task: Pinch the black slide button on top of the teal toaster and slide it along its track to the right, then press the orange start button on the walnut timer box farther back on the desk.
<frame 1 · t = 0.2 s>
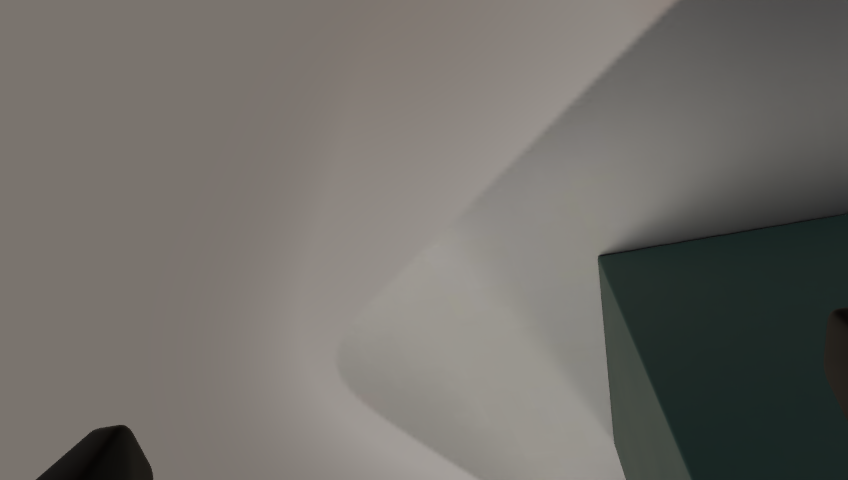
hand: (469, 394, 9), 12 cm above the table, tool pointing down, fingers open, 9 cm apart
toaster: (760, 332, 24), on the table
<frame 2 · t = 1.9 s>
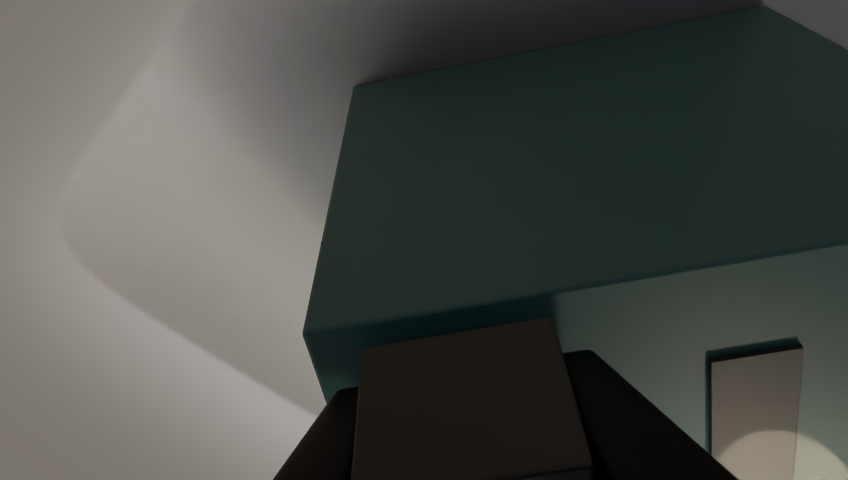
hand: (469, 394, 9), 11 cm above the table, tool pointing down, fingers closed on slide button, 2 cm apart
slide button: (474, 455, 9), point 12 cm above the table, slide at 0.0 cm, touching gripper
toaster: (570, 192, 20), on the table
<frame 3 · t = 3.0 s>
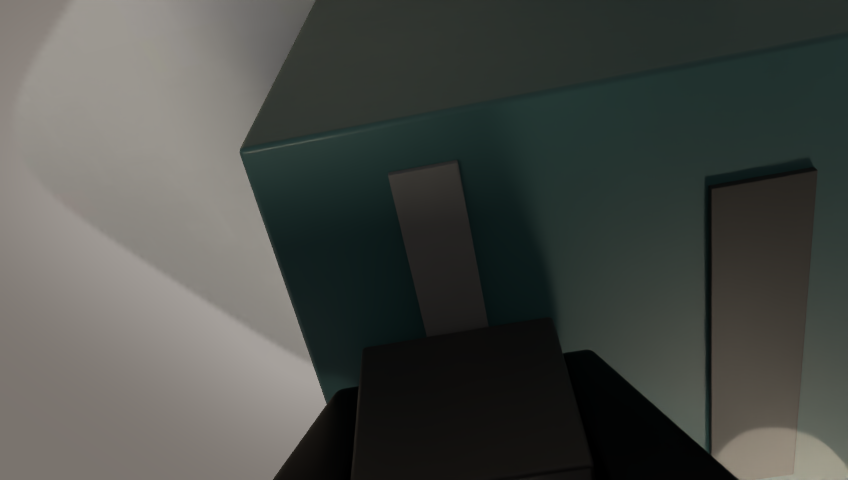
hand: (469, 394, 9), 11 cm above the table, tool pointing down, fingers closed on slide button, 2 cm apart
slide button: (474, 454, 9), point 12 cm above the table, slide at 2.6 cm, touching gripper
toaster: (560, 101, 18), on the table
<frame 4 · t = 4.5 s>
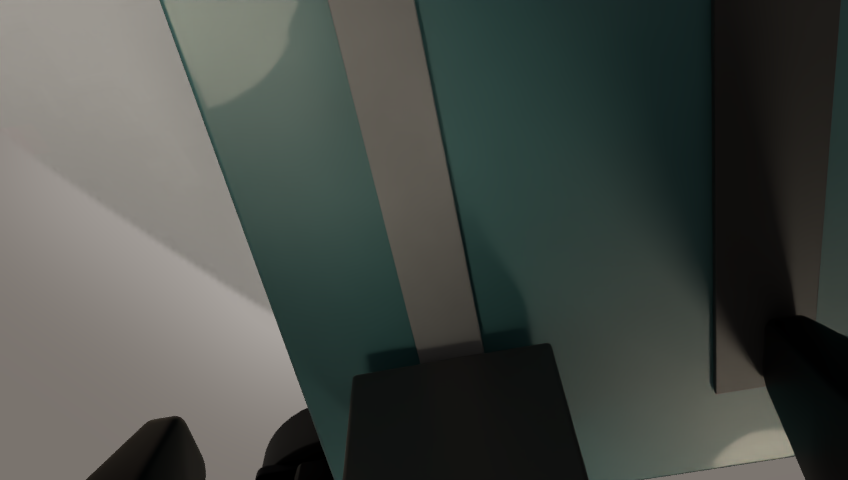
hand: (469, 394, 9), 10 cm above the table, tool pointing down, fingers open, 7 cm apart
toaster: (547, 20, 17), on the table
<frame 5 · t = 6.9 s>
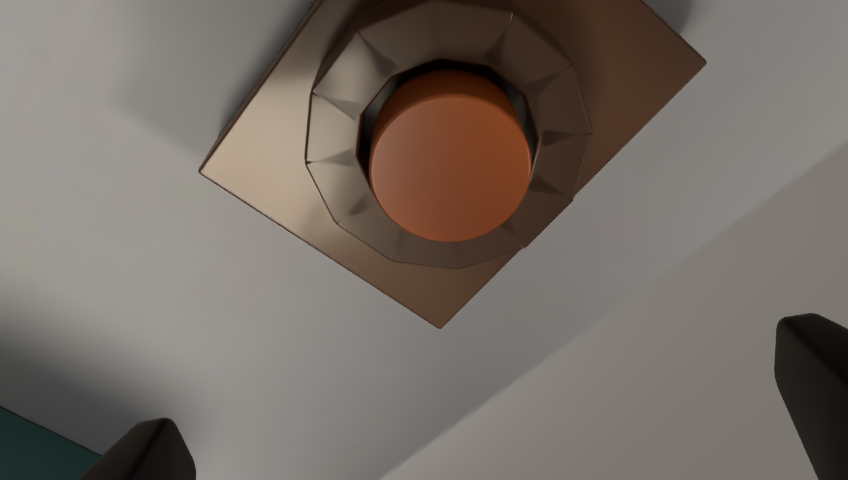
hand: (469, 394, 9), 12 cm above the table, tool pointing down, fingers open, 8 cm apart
start button: (448, 156, 16), point 4 cm above the table, slide at 0.1 cm
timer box: (441, 91, 20), on the table
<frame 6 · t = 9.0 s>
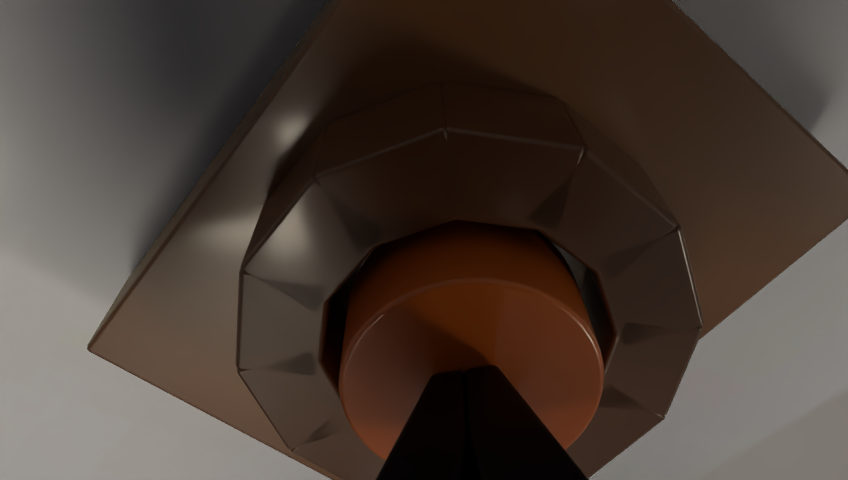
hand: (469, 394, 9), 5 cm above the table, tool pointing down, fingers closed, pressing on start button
start button: (467, 349, 10), point 4 cm above the table, slide at -0.4 cm, touching gripper
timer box: (453, 213, 14), on the table
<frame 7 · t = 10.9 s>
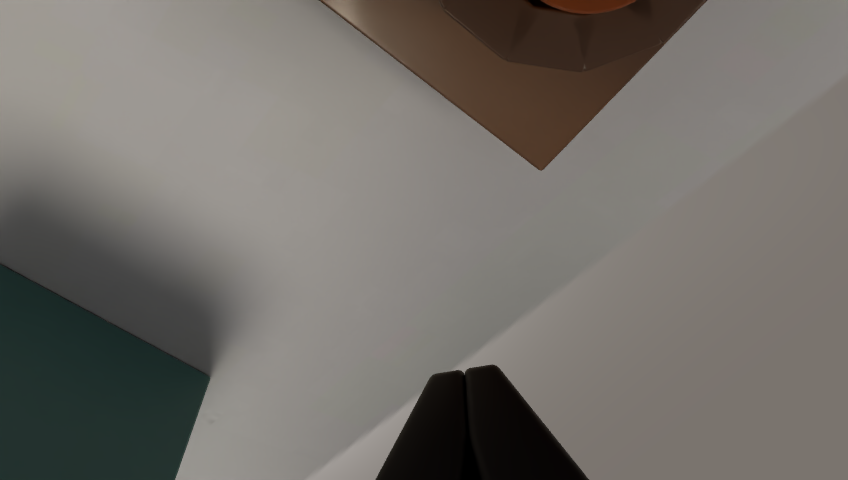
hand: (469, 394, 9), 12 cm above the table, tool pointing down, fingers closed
toaster: (36, 409, 25), on the table
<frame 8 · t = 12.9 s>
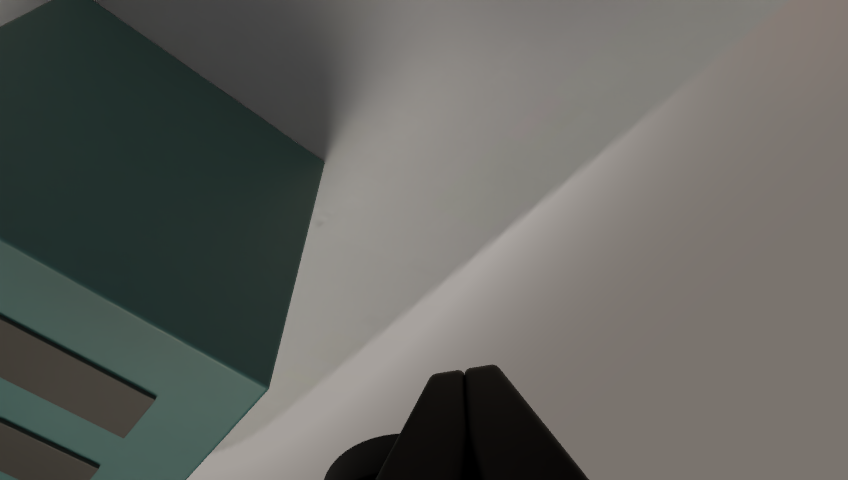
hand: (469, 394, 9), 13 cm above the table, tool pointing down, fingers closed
toaster: (123, 204, 22), on the table
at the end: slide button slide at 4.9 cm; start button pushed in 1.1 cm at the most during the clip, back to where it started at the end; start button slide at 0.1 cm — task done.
